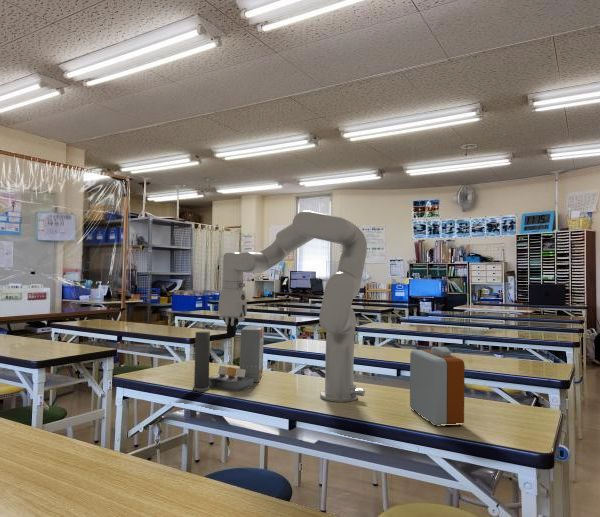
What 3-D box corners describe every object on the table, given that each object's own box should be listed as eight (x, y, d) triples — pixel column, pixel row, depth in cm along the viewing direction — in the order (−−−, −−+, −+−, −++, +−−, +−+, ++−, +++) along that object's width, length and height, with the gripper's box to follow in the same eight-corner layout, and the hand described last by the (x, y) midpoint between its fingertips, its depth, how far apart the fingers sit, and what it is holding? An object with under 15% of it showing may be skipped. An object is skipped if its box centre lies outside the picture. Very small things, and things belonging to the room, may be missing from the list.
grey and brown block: (465, 427, 128) (465, 352, 129) (435, 428, 127) (436, 352, 128) (435, 407, 147) (435, 342, 147) (408, 408, 145) (409, 342, 146)
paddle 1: (243, 379, 169) (245, 370, 170) (239, 378, 166) (241, 368, 167) (239, 379, 170) (241, 369, 171) (235, 378, 167) (237, 368, 168)
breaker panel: (253, 386, 170) (253, 377, 170) (238, 391, 162) (239, 382, 162) (222, 381, 177) (222, 372, 177) (207, 386, 169) (207, 377, 169)
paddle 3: (226, 377, 173) (228, 367, 174) (221, 375, 170) (223, 366, 171) (222, 376, 173) (224, 367, 174) (217, 375, 171) (219, 365, 172)
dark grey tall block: (212, 388, 166) (214, 332, 166) (202, 391, 161) (203, 333, 161) (200, 386, 168) (201, 331, 169) (189, 389, 163) (191, 332, 164)
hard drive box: (259, 383, 175) (260, 329, 176) (238, 382, 176) (240, 329, 176) (263, 374, 191) (264, 325, 192) (244, 373, 191) (245, 325, 192)
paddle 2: (235, 378, 171) (237, 368, 172) (230, 377, 168) (232, 367, 169) (231, 377, 171) (233, 368, 173) (226, 376, 169) (228, 366, 170)
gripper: (255, 286, 171) (253, 336, 170) (222, 285, 178) (221, 333, 177) (243, 287, 164) (241, 339, 163) (210, 285, 171) (208, 335, 171)
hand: (231, 336), depth 170 cm, fingers closed
